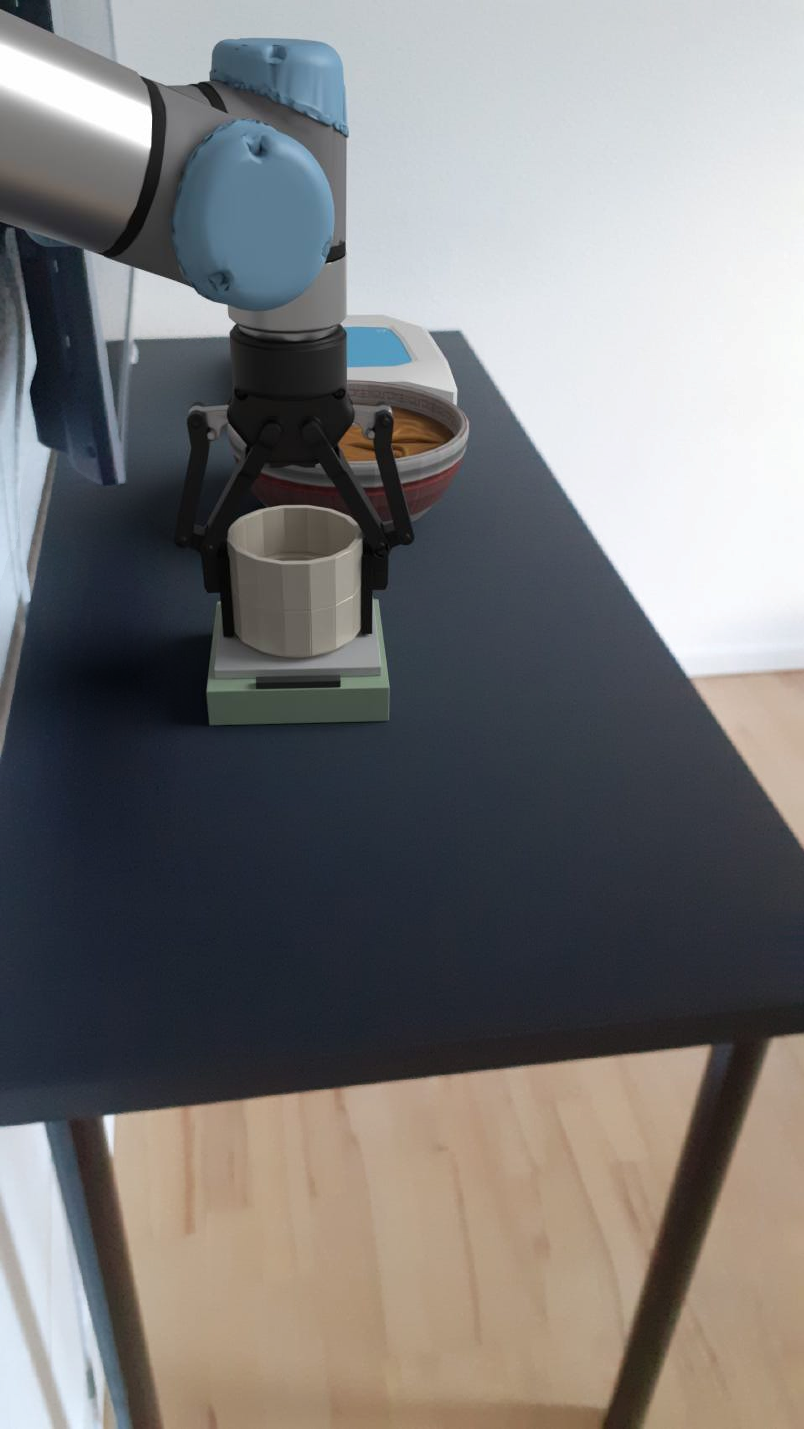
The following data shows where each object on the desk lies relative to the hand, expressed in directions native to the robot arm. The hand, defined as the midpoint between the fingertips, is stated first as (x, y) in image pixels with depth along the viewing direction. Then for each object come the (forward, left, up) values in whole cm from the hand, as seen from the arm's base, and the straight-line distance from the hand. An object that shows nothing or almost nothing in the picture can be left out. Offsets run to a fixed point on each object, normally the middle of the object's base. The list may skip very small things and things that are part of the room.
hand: (298, 626), depth 82 cm
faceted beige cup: (0, 0, 0) cm, 0 cm away
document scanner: (+7, +64, -4) cm, 65 cm away
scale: (0, -1, -4) cm, 4 cm away
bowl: (+5, +28, -4) cm, 29 cm away
